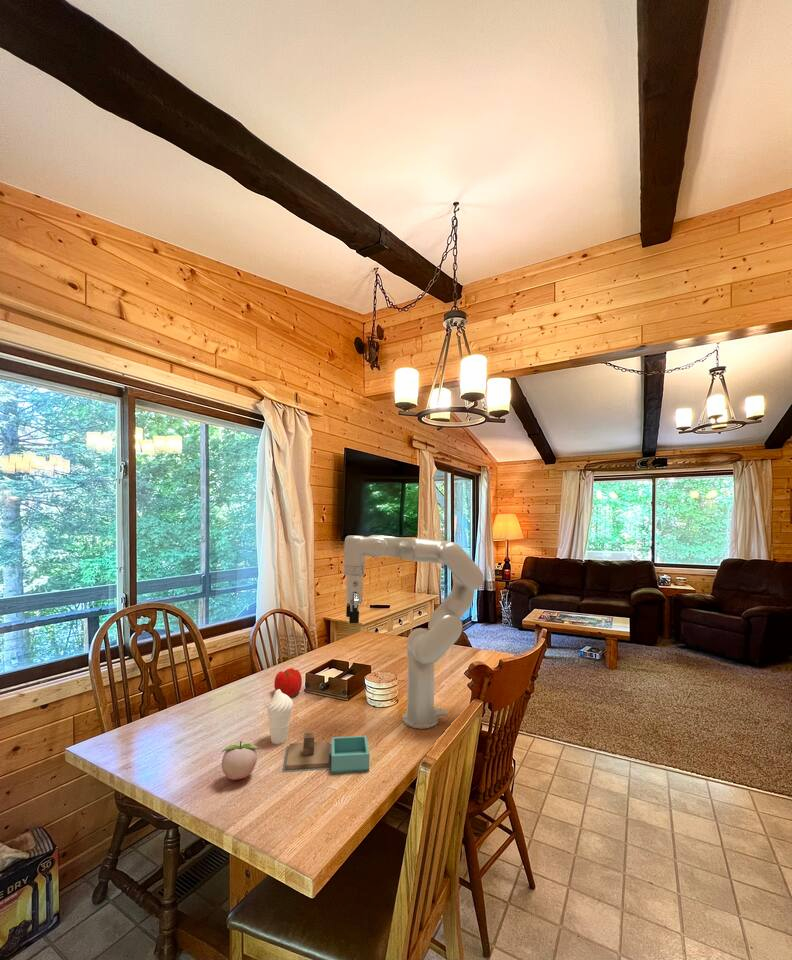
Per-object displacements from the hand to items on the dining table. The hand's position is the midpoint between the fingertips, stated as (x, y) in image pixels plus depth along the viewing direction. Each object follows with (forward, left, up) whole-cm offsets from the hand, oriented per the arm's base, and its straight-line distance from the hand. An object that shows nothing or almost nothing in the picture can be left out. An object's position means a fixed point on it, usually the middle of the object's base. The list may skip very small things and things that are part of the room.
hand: (352, 619), depth 152 cm
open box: (+1, +23, -36) cm, 42 cm away
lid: (+13, +19, -35) cm, 42 cm away
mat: (+13, +19, -36) cm, 42 cm away
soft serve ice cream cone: (+23, +8, -36) cm, 43 cm away
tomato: (+24, -30, -36) cm, 53 cm away
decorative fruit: (+31, +28, -36) cm, 55 cm away
